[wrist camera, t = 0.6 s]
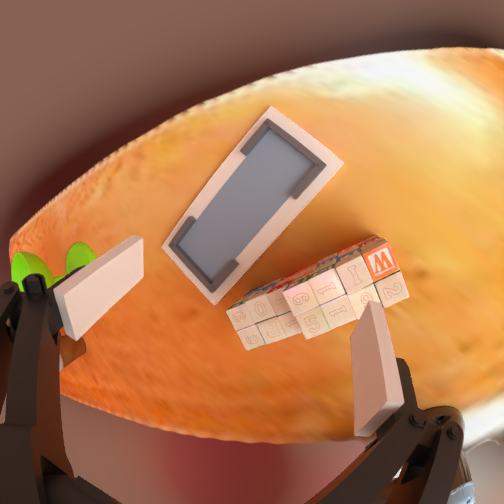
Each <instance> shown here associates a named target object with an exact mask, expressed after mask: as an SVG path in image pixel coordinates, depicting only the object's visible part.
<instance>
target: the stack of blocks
mask: <svg viewBox="0 0 504 504" xmlns="http://www.w3.org/2000/svg"><path fill="white" fill-rule="evenodd" d="M408 297H409V294H408V291H407V288H406V285H405V282H404V279H403V276H402V273H401V271H400V270H399V266H398V263H397V260H396V258H395V255H394V253H393V250H392V248H391V246H390V243H389V242H388V241H386V240H385V239H383V238H380V237H378V236H377V235H374V236H372V237H370V238H368V239H366V240H364V241H362V242H359V243H356V244H354V245H352V246H350V247H347V248H345V249H343V250H341V251H339V252H337V253H334V254H332V255H330V256H327V257H325V258H323V259H321V260H320V261H319V262H316V263H314V264H312V265H310V266H307V267H305V268H303V269H301V270H300V271H297V272H295V273H293V274H290V275H288V276H286V277H284V278H283V277H281V278H279V279H277V280H274V281H272V282H270V283H268V284H266V285H264V286H261V287H259V288H257V289H254V290H252V291H250V292H248V293H247V294H246V295H245V296H243V297H242V298H240V299H239V300H238V301H236V302H235V303H234V305H233V306H231V307H230V308H229V309H228V310H226V313H227V315H228V317H229V319H230V321H231V323H232V325H233V327H234V329H235V331H237V334H238V336H239V338H240V340H241V342H242V343H243V345H244V347H245V349H246V351H247V350H251V349H254V348H257V347H260V346H263V345H265V344H270V343H273V342H276V341H279V340H282V339H285V338H287V337H291V336H294V335H296V334H299V333H301V332H302V333H303V335H304V337H305V339H306V340H307V339H310V338H312V337H315V336H317V335H320V334H323V333H325V332H328V331H330V330H331V329H334V328H337V327H339V326H341V325H344V324H346V323H349V322H351V321H353V320H355V319H360V317H361V315H362V313H363V311H364V309H365V307H366V305H367V303H368V301H369V300H371V301H375V302H379V303H381V304H382V308H387V307H389V306H391V305H393V304H396V303H398V302H400V301H402V300H404V299H406V298H408Z"/></svg>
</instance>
